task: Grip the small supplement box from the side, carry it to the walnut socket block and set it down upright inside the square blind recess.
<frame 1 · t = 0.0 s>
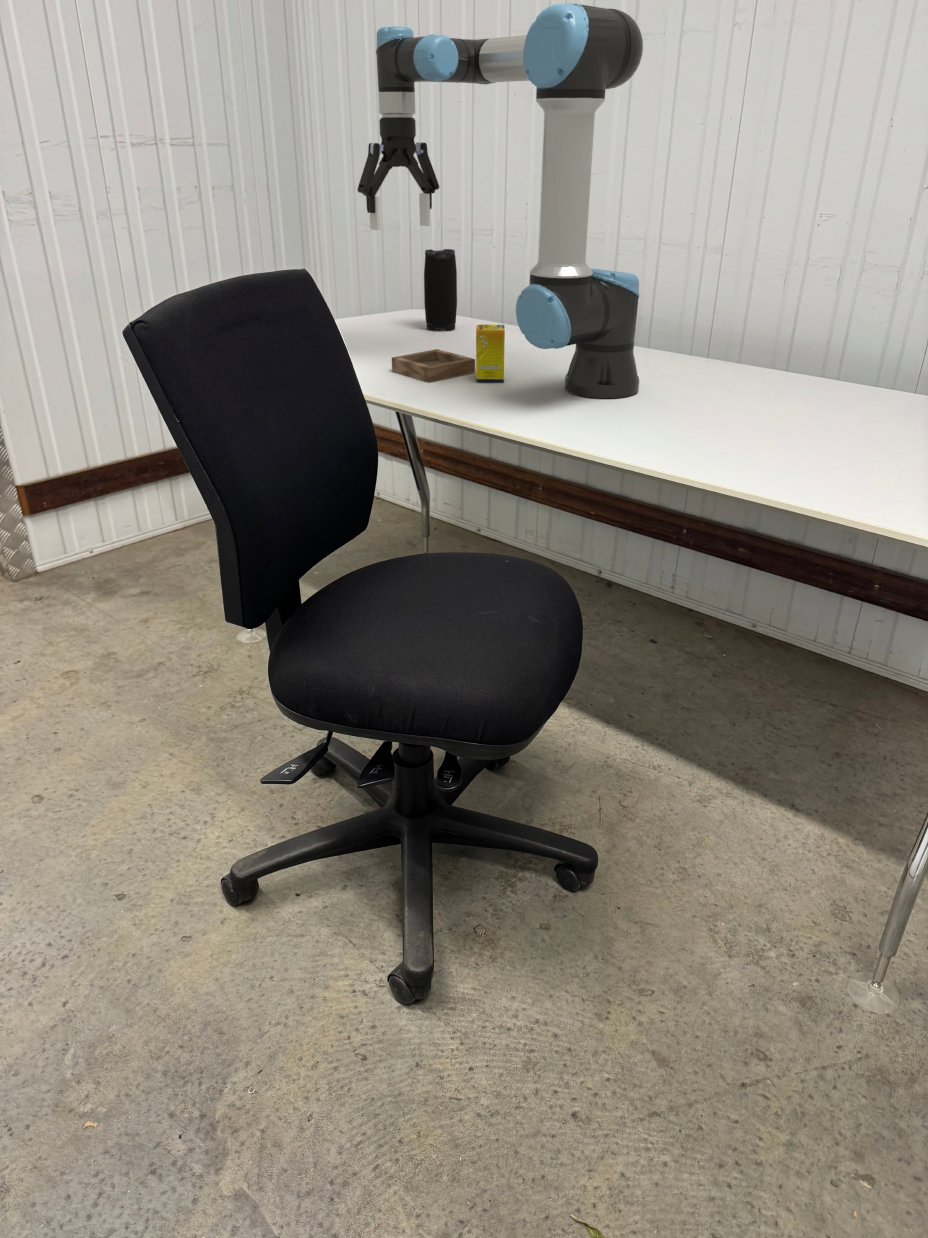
hand: (400, 227, 195), 28 cm above the table, tool pointing down, fingers open, 13 cm apart
supplement box: (489, 380, 191), on the table
socket block: (433, 371, 196), on the table
portable speaker: (441, 329, 238), on the table
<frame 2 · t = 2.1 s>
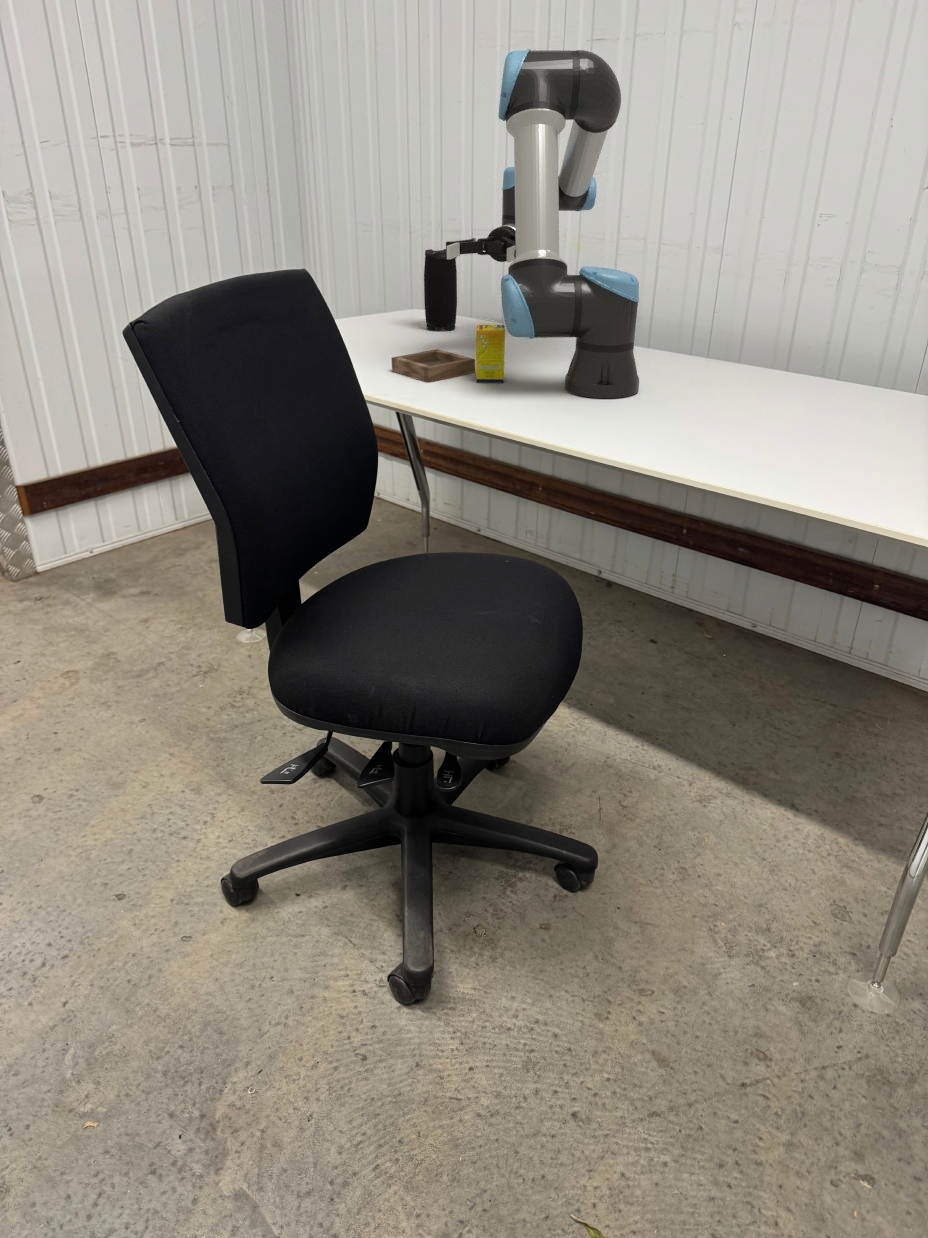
hand: (478, 253, 192), 23 cm above the table, tool horizontal, fingers open, 13 cm apart
nothing on the table moved.
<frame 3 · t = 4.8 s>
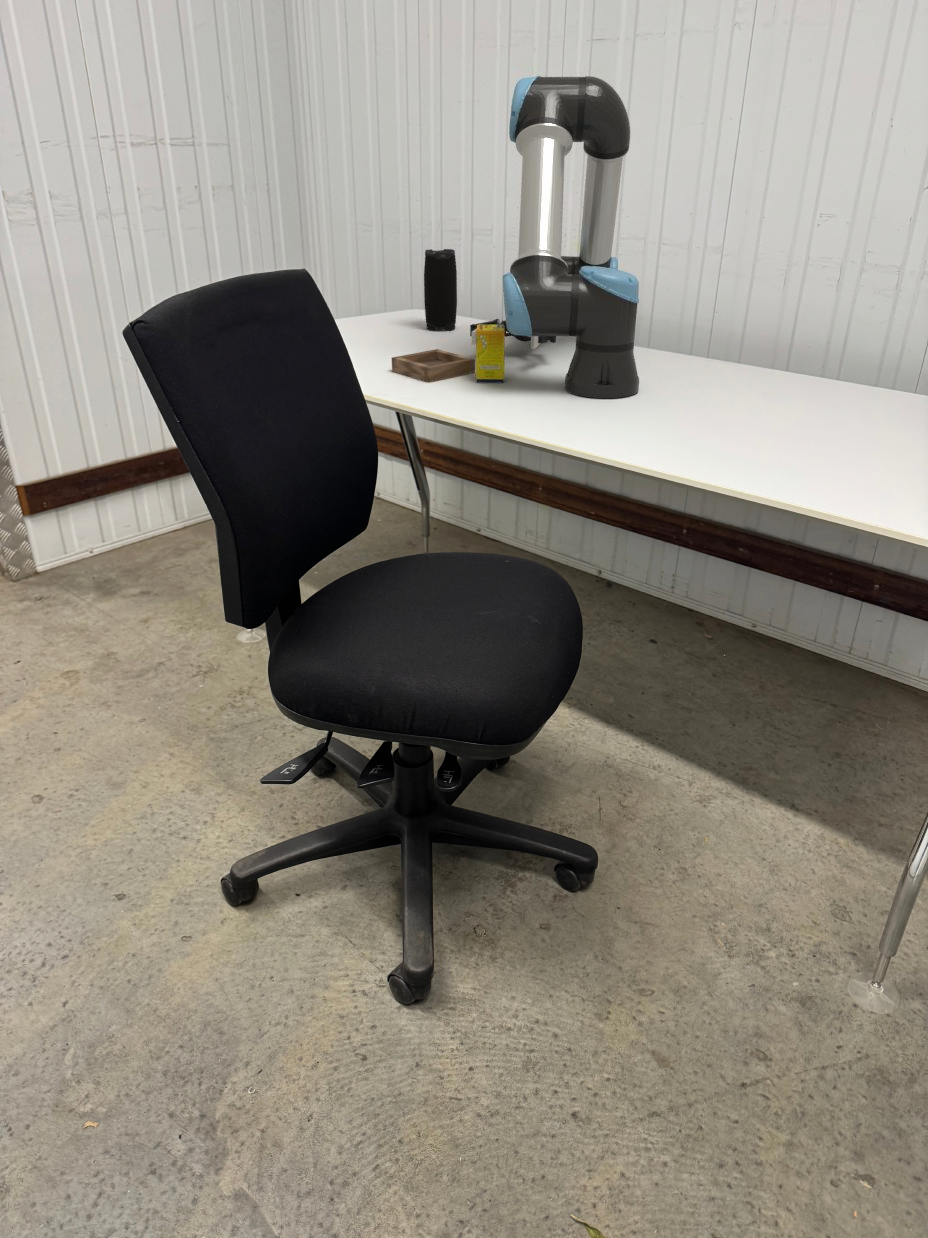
hand: (502, 340, 195), 6 cm above the table, tool horizontal, fingers open, 13 cm apart
nothing on the table moved.
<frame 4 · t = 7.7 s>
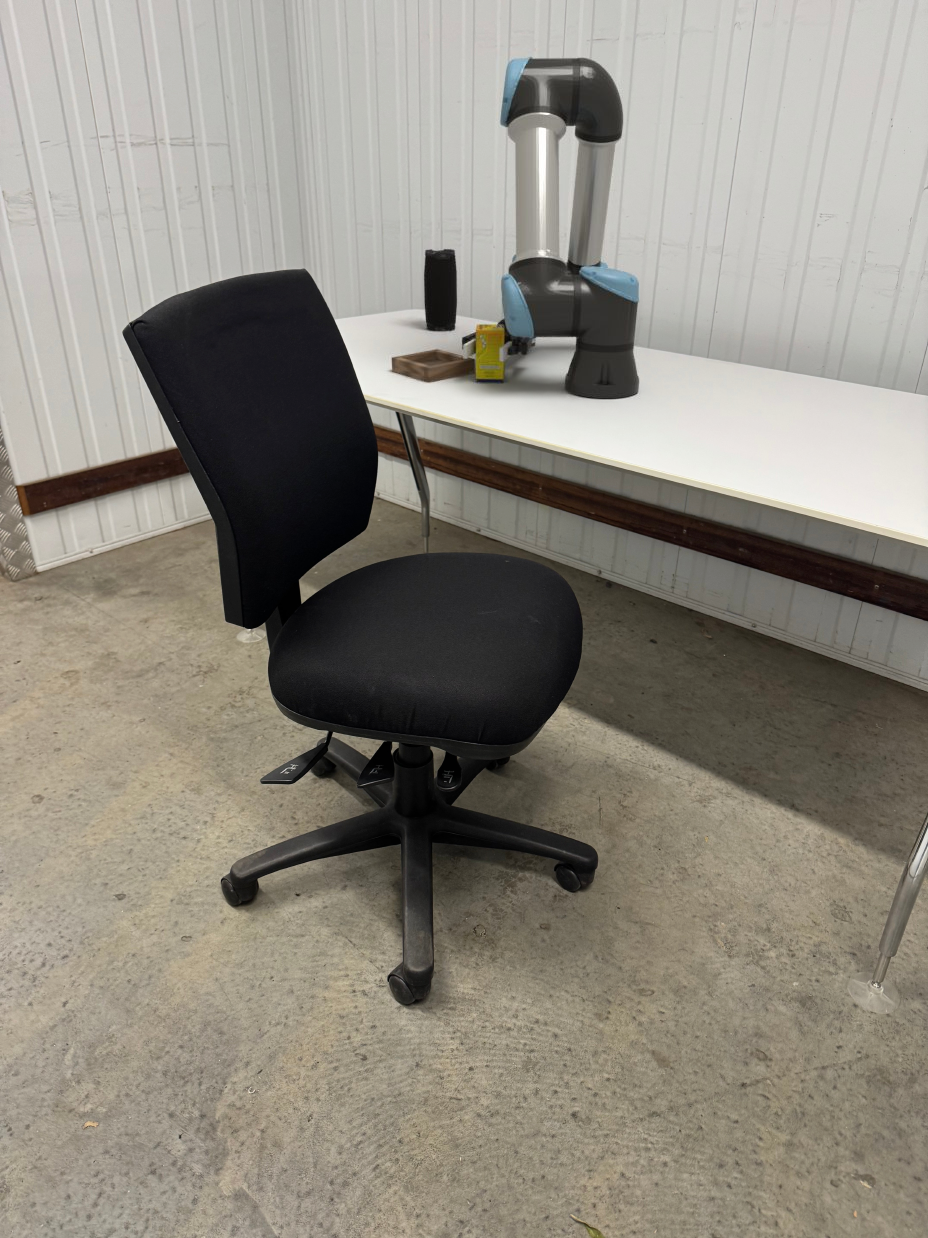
hand: (483, 353, 183), 7 cm above the table, tool horizontal, fingers closed on supplement box, 7 cm apart
supplement box: (489, 380, 191), on the table, touching gripper
everything else where it was.
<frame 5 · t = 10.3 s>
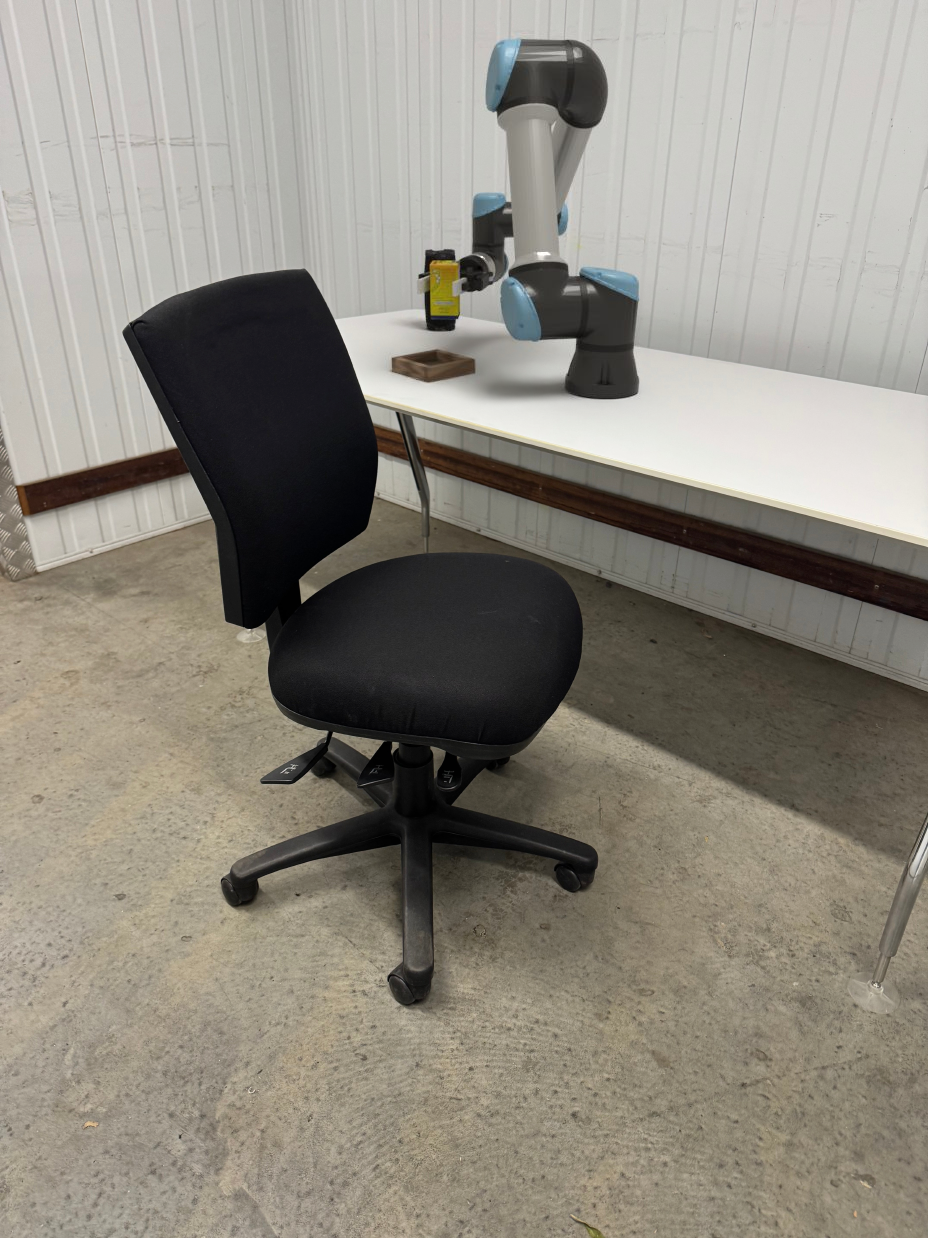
hand: (436, 287, 183), 18 cm above the table, tool horizontal, fingers closed on supplement box, 7 cm apart
supplement box: (445, 317, 190), point 12 cm above the table, touching gripper
everything else where it was.
when the fingers open (9 cm above the table, at t = 13.2 s): supplement box drops 1 cm, resting on socket block.
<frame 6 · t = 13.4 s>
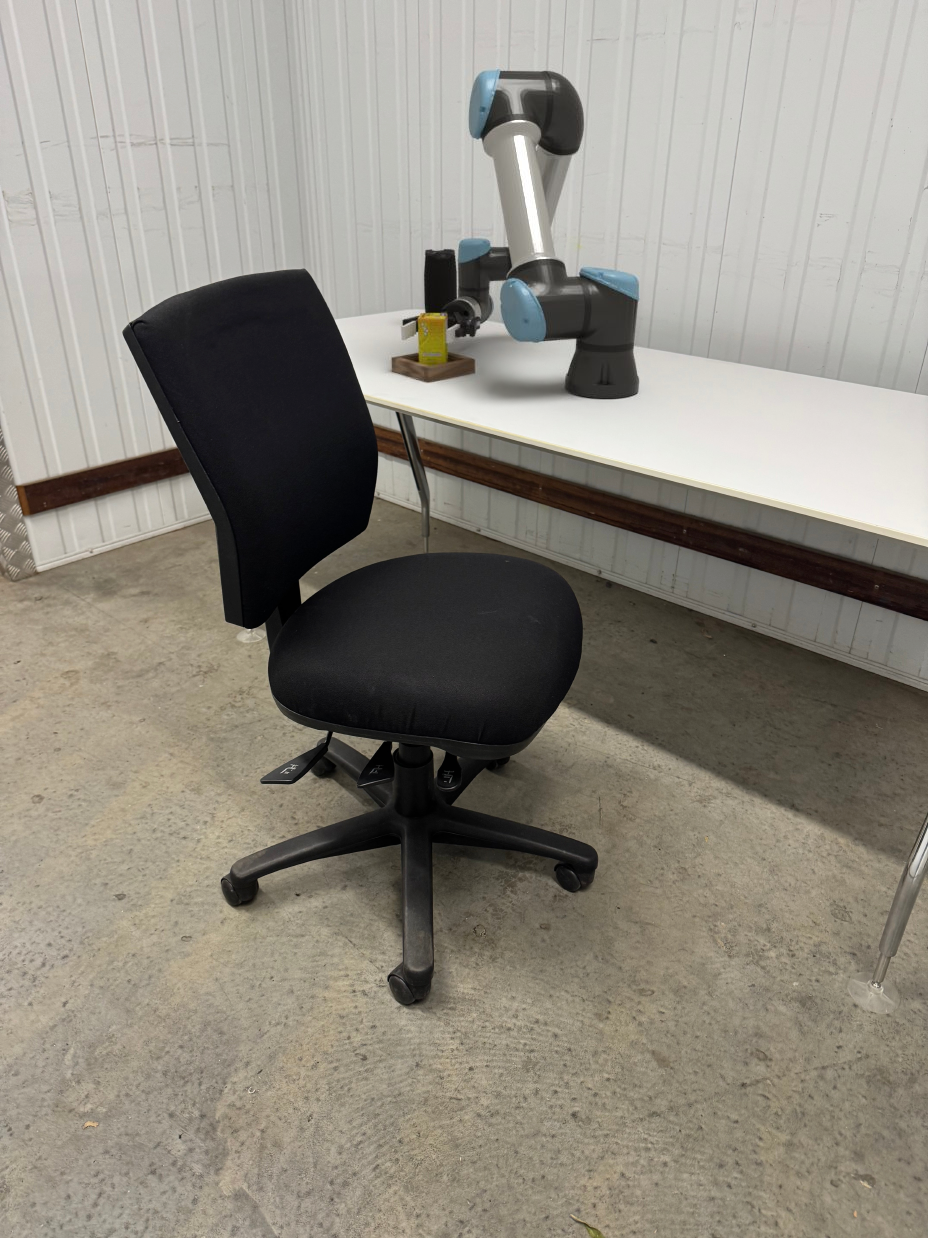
hand: (425, 334, 188), 9 cm above the table, tool horizontal, fingers open, 9 cm apart
supplement box: (433, 367, 196), point 1 cm above the table, touching socket block
everything else where it was.
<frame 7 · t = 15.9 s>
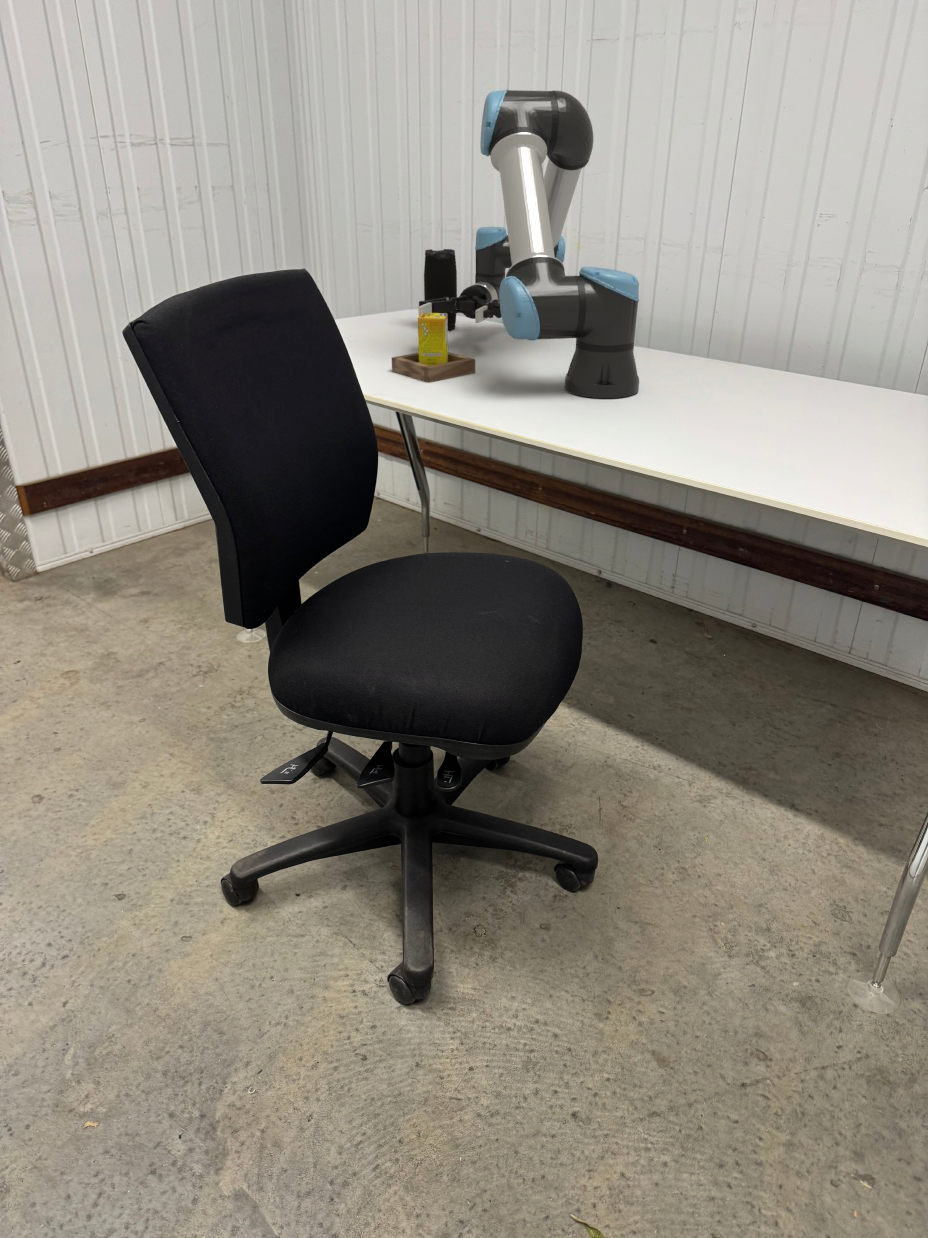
hand: (448, 314, 199), 10 cm above the table, tool horizontal, fingers open, 13 cm apart
nothing on the table moved.
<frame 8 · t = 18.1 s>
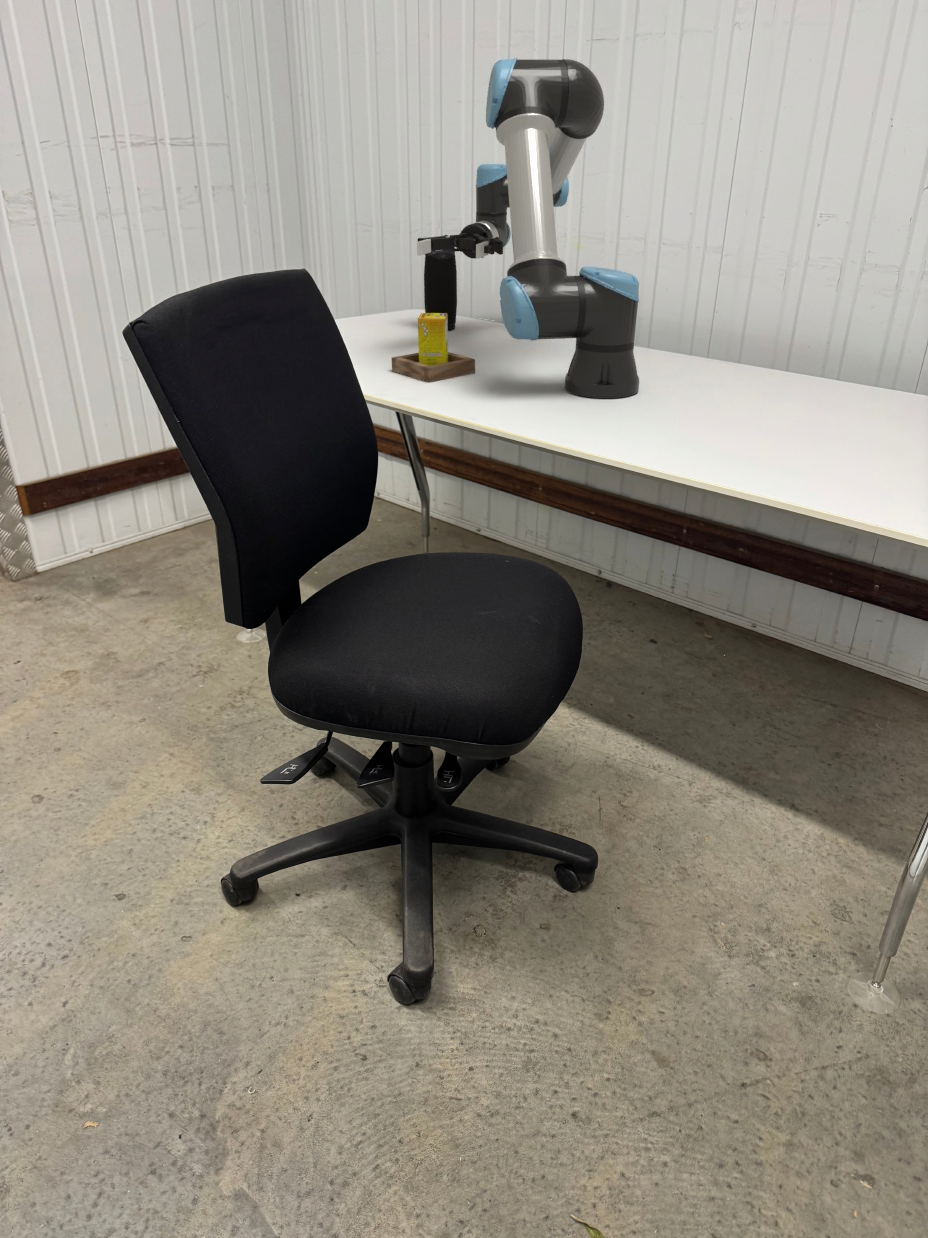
hand: (447, 249, 193), 24 cm above the table, tool horizontal, fingers open, 13 cm apart
nothing on the table moved.
at the end: supplement box inside the target area on the socket block (0.1 cm from its centre), point 0.9 cm above the socket block's base; supplement box tilted 0°; the gripper is holding nothing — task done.
